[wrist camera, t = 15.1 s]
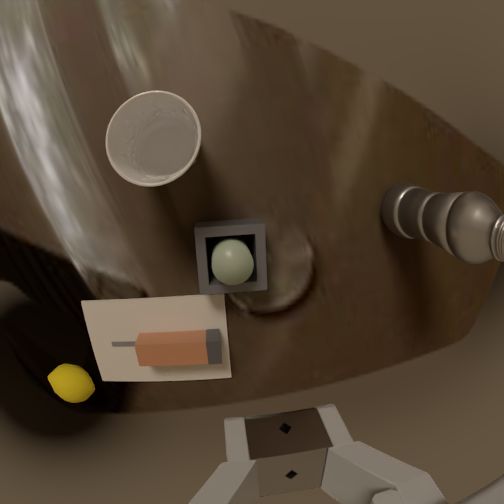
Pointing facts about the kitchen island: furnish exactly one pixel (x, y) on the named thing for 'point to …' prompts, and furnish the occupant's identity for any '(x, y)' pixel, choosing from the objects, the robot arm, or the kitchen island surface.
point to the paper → (151, 321)
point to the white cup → (153, 138)
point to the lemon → (71, 383)
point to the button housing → (229, 228)
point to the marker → (179, 348)
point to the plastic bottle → (447, 221)
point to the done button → (231, 260)
